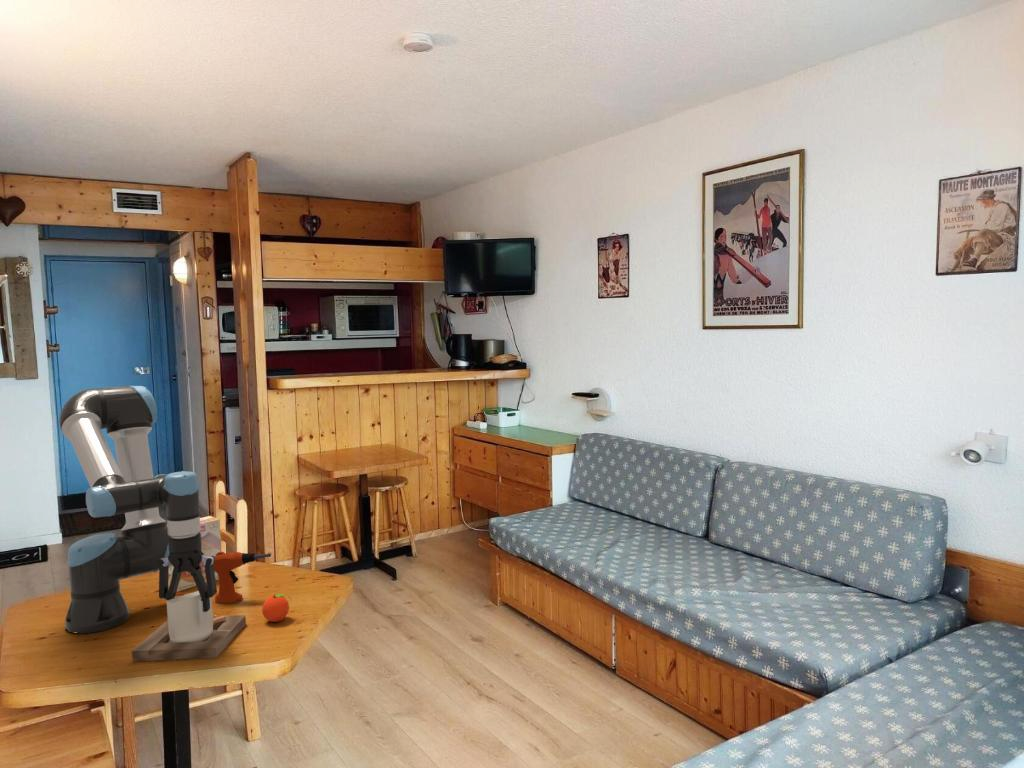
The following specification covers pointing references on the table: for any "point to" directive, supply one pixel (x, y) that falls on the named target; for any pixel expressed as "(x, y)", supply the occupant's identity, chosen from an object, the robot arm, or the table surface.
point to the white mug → (189, 619)
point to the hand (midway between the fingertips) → (190, 624)
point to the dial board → (162, 649)
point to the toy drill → (230, 573)
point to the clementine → (275, 608)
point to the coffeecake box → (209, 548)
